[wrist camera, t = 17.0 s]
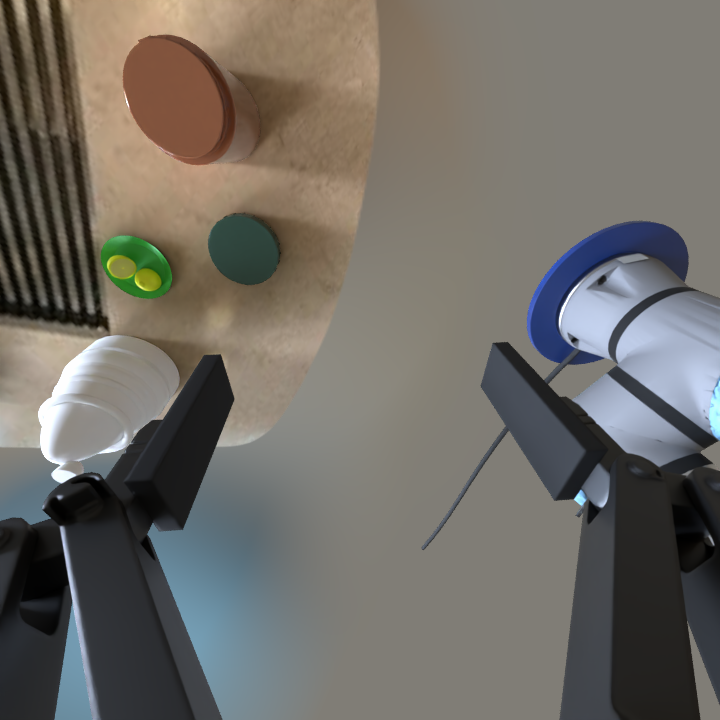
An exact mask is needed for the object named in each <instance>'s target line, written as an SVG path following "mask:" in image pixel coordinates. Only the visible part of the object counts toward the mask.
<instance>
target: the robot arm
mask: <svg viewBox="0 0 720 720" xmlns="http://www.w3.org/2000/svg"><path fill="white" fill-rule="evenodd" d="M555 323H556V329H557V331H558V334H559V335H560V337H561V338H562V339H563V340H565V341H566V342H567V343H568V344H570V345H571V346H573V347H575V349H574V350H573V351H572V352H571V353H570V355H569V356H568V357H567V358H566V359H564V360H563V361H562V362H561V363H560V364H559V365H558V366H557V367H556V368H555V369H554V370H553V372H551V374H550V375H549V376H548V377H547V378H546V379H545V380H543V379H542V378H541V377H540V376H539V375H538V374H537V373H536V372H535V370H534V369H533V368H532V367H531V366H530V365H529V364H528V363H527V362H526V361H525V360H524V359H523V358H522V357H521V356H520V355H519V354H518V352H517V351H516V350H515V349H514V348H513V347H512V346H511V345H510V344H509V343H508V342H501V343H493V344H492V349H491V351H490V355H489V358H488V362H487V366H486V369H485V373H484V376H483V380H482V383H481V388H482V389H483V391H484V392H485V394H486V395H487V397H488V398H489V400H490V402H491V403H492V405H493V406H494V408H495V409H496V411H497V412H498V414H499V416H500V417H501V419H502V420H503V422H504V423H505V425H506V427H505V428H504V429H503V431H502V432H501V433H500V435H499V436H498V437H497V439H496V440H495V442H494V443H493V444H492V446H491V447H490V449H489V450H488V451H487V453H486V454H485V456H484V457H483V459H482V460H481V462H480V463H479V465H478V466H477V468H476V469H475V471H474V472H473V474H472V475H471V477H470V479H469V480H468V482H467V483H466V485H465V487H464V488H463V490H462V491H461V493H460V495H459V496H458V498H457V499H456V501H455V502H454V504H453V506H452V507H451V509H450V510H449V512H448V513H447V515H446V516H445V518H444V519H443V520H442V522H441V523H440V525H439V526H438V527H437V529H436V530H435V531H434V533H433V534H432V535H431V537H430V538H429V539H428V540H427V541H426V543H425V544H424V545H423V546H422V550H424V549H425V548H426V547H427V546H428V544H429V543H430V542H431V541H432V540H433V539H434V537H435V536H436V535H437V533H438V532H439V531H440V530H441V528H442V527H443V525H444V524H445V523H446V521H447V520H448V518H449V517H450V516H451V514H452V513H453V511H454V510H455V508H456V506H457V505H458V503H459V502H460V500H461V499H462V497H463V496H464V494H465V493H466V491H467V489H468V488H469V486H470V485H471V483H472V482H473V480H474V479H475V477H476V476H477V474H478V472H479V471H480V469H481V468H482V467H483V465H484V464H485V462H486V461H487V459H488V458H489V456H490V455H491V454H492V452H493V451H494V449H495V448H496V447H497V445H498V444H499V443H500V441H501V440H502V439H503V437H504V436H505V435H506V433H507V432H508V431H510V432H511V434H512V436H513V437H514V439H515V440H516V442H517V443H518V445H519V447H520V448H521V450H522V451H523V452H524V454H525V456H526V457H527V459H528V460H529V462H530V464H531V465H532V467H533V468H534V470H535V471H536V473H537V474H538V476H539V477H540V479H541V481H542V482H543V484H544V485H545V487H546V488H547V490H548V491H549V493H550V494H551V496H552V498H553V499H554V500H556V501H557V500H569V499H574V500H575V501H576V502H578V503H579V504H580V505H581V508H580V509H579V511H578V512H577V514H576V516H577V517H580V516H581V514H582V513H583V520H582V528H581V537H580V546H579V555H578V564H577V572H576V581H575V590H574V599H573V607H572V616H571V624H570V634H569V642H568V652H567V660H566V668H565V677H564V686H563V694H562V703H561V712H560V720H700V713H699V706H698V698H697V691H696V683H695V676H694V669H693V661H692V654H691V646H690V639H689V632H688V624H687V621H688V623H689V626H690V629H691V631H692V634H693V636H694V639H695V642H696V644H697V647H698V649H699V652H700V655H701V657H702V660H703V663H704V665H705V668H706V670H707V673H708V676H709V678H710V681H711V683H712V686H713V688H714V691H715V694H716V696H717V699H718V702H719V704H720V471H719V468H718V467H717V466H716V465H715V464H713V463H712V462H711V461H710V460H708V459H707V458H706V457H705V456H703V455H702V454H701V453H700V452H701V451H702V450H704V449H705V448H707V447H709V446H710V445H712V444H714V443H716V442H718V441H720V298H718V297H715V296H712V295H709V294H707V293H704V292H701V291H698V290H695V289H693V288H690V287H688V286H687V285H686V284H685V283H684V282H683V281H682V280H681V279H680V278H679V277H678V276H677V275H676V274H675V273H674V272H673V271H672V270H671V269H670V268H669V267H667V266H666V265H665V264H664V263H663V262H661V261H660V260H658V259H656V258H654V257H651V256H648V255H645V254H642V253H636V252H629V253H621V254H617V255H614V256H611V257H608V258H606V259H604V260H602V261H600V262H598V263H596V264H595V265H593V266H592V267H590V268H589V269H587V270H586V271H585V272H584V273H582V274H581V275H580V276H579V277H578V278H577V279H576V280H575V281H574V282H573V283H572V284H571V286H570V287H569V288H568V289H567V291H566V292H565V294H564V295H563V297H562V299H561V301H560V303H559V306H558V309H557V312H556V319H555ZM581 351H585V352H588V353H591V354H595V355H598V356H601V357H604V358H608V359H611V360H613V361H614V362H616V363H617V364H618V365H617V366H615V367H614V368H613V369H611V370H610V371H609V372H608V373H606V374H605V375H604V376H602V377H601V378H600V379H598V380H597V381H596V382H595V383H594V384H592V385H591V386H589V387H588V388H587V389H586V390H584V391H583V392H582V393H581V394H579V395H578V396H577V397H575V398H574V399H573V400H571V399H569V398H567V397H559V396H558V395H557V394H556V393H555V392H554V391H553V390H552V388H550V386H549V385H548V383H550V381H551V380H552V379H553V378H554V377H555V376H556V375H557V374H558V373H559V372H560V371H561V370H562V369H563V368H564V367H565V366H566V365H567V364H568V363H570V362H571V361H572V360H573V359H574V358H575V357H576V356H577V355H578V354H579V353H580V352H581ZM233 402H234V395H233V392H232V389H231V386H230V382H229V379H228V376H227V373H226V369H225V366H224V363H223V360H222V356H221V354H218V355H204V356H203V357H202V359H201V361H200V362H199V364H198V365H197V367H196V368H195V370H194V372H193V373H192V375H191V376H190V378H189V379H188V381H187V383H186V384H185V386H184V387H183V389H182V390H181V392H180V394H179V395H178V397H177V398H176V400H175V401H174V403H173V405H172V406H171V408H170V409H169V411H168V412H167V414H166V416H165V417H164V419H163V420H151V421H150V422H149V423H148V424H146V425H145V426H144V427H143V428H142V429H140V430H139V431H138V433H137V434H136V436H135V437H134V439H133V440H132V441H131V444H129V446H128V447H127V449H126V450H125V453H124V454H122V456H121V457H120V459H119V460H118V462H117V463H116V464H115V466H114V467H113V469H112V470H111V472H110V473H109V475H108V476H107V478H106V479H105V480H104V479H103V478H102V476H101V475H100V474H98V473H93V472H91V473H84V474H80V475H77V476H75V477H72V478H70V479H68V480H67V481H65V482H63V483H62V484H60V485H59V486H58V487H57V488H55V489H54V490H53V491H52V492H51V493H50V494H49V495H48V497H47V498H46V500H45V501H44V504H43V511H44V512H45V513H46V514H48V515H49V516H50V517H51V519H48V520H45V521H42V522H39V523H36V524H33V525H30V524H28V523H27V522H26V521H25V520H24V519H22V518H10V519H6V520H2V521H0V720H54V718H55V711H56V705H57V698H58V692H59V685H60V679H61V672H62V665H63V659H64V652H65V646H66V639H67V632H68V626H69V619H70V613H71V606H72V601H73V607H74V613H75V619H76V624H77V631H78V637H79V642H80V648H81V654H82V660H83V666H84V672H85V677H86V684H87V689H88V696H89V701H90V707H91V713H92V719H93V720H222V718H221V715H220V712H219V710H218V707H217V705H216V702H215V700H214V697H213V695H212V692H211V690H210V687H209V685H208V682H207V680H206V677H205V675H204V672H203V670H202V667H201V665H200V662H199V660H198V657H197V655H196V652H195V650H194V647H193V645H192V642H191V640H190V637H189V635H188V632H187V630H186V627H185V625H184V622H183V620H182V617H181V615H180V612H179V610H178V607H177V605H176V602H175V600H174V597H173V595H172V592H171V590H170V587H169V585H168V582H167V580H166V577H165V575H164V572H163V570H162V567H161V565H160V562H159V559H158V557H157V554H156V552H155V549H154V547H153V545H152V542H151V540H150V538H149V536H148V535H147V533H148V531H149V529H150V527H151V525H152V523H154V525H155V526H156V528H157V529H158V530H159V531H171V530H183V528H184V525H185V523H186V520H187V518H188V515H189V513H190V510H191V508H192V505H193V502H194V500H195V498H196V495H197V492H198V490H199V488H200V485H201V483H202V480H203V477H204V475H205V472H206V470H207V467H208V465H209V462H210V460H211V457H212V455H213V452H214V449H215V447H216V445H217V442H218V440H219V437H220V435H221V432H222V430H223V427H224V424H225V422H226V419H227V417H228V414H229V412H230V409H231V407H232V404H233Z"/></svg>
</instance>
